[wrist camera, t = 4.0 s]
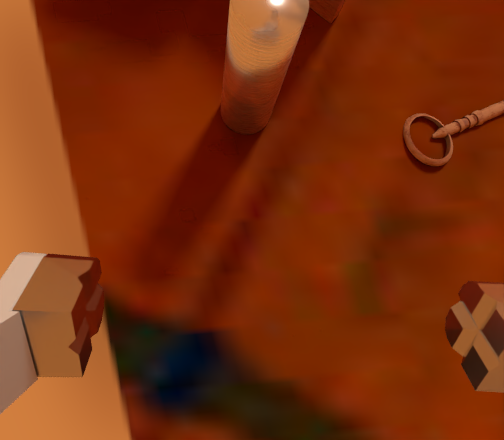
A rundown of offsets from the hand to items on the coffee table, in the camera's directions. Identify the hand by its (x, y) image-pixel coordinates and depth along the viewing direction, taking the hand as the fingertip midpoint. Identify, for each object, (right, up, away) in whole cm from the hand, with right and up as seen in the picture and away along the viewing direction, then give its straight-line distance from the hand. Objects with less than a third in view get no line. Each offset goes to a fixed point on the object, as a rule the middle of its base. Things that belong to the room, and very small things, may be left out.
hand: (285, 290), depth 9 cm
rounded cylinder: (-1, +8, +17) cm, 19 cm away
